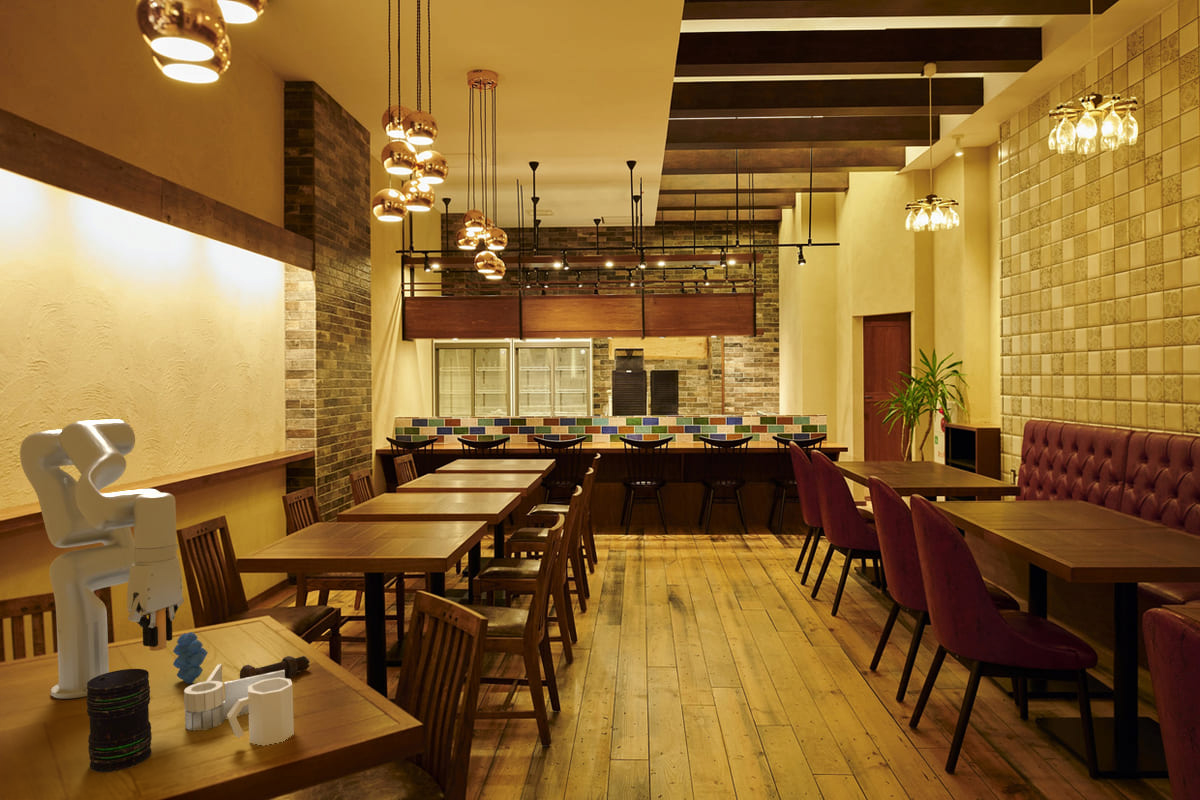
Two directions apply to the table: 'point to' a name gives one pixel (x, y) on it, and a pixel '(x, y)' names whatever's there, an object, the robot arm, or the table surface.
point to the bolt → (277, 667)
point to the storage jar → (119, 720)
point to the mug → (266, 711)
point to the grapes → (189, 657)
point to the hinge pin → (160, 629)
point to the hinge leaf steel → (226, 702)
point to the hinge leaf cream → (205, 693)
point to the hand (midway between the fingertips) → (157, 642)
